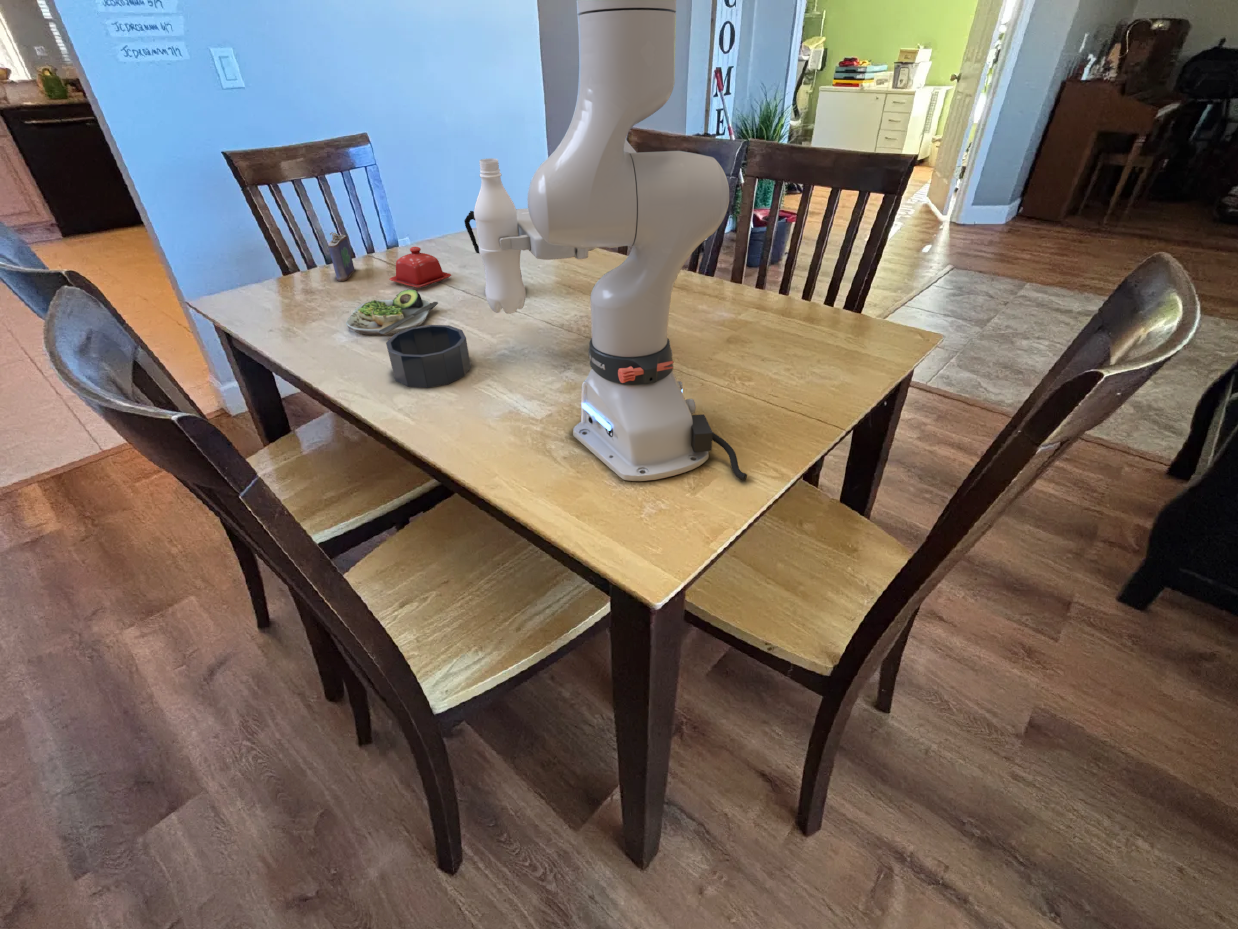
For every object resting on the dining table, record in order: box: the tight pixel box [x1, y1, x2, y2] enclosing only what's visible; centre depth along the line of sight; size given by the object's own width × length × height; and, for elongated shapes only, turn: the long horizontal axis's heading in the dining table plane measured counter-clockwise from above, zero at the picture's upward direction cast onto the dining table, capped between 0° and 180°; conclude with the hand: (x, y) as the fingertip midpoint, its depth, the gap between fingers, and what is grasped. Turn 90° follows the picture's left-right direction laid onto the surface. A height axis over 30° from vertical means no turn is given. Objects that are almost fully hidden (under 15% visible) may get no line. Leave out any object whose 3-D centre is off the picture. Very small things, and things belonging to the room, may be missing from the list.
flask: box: [327, 231, 356, 282], centre depth 156 cm, size 9×3×11 cm, turn 2°
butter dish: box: [388, 246, 452, 289], centre depth 152 cm, size 12×12×8 cm
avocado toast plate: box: [345, 289, 439, 336], centre depth 132 cm, size 19×18×5 cm
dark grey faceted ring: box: [385, 324, 472, 389], centre depth 114 cm, size 14×14×6 cm
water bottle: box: [473, 157, 527, 315], centre depth 107 cm, size 7×7×25 cm
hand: (493, 237), depth 107 cm, fingers closed on water bottle, 7 cm apart
